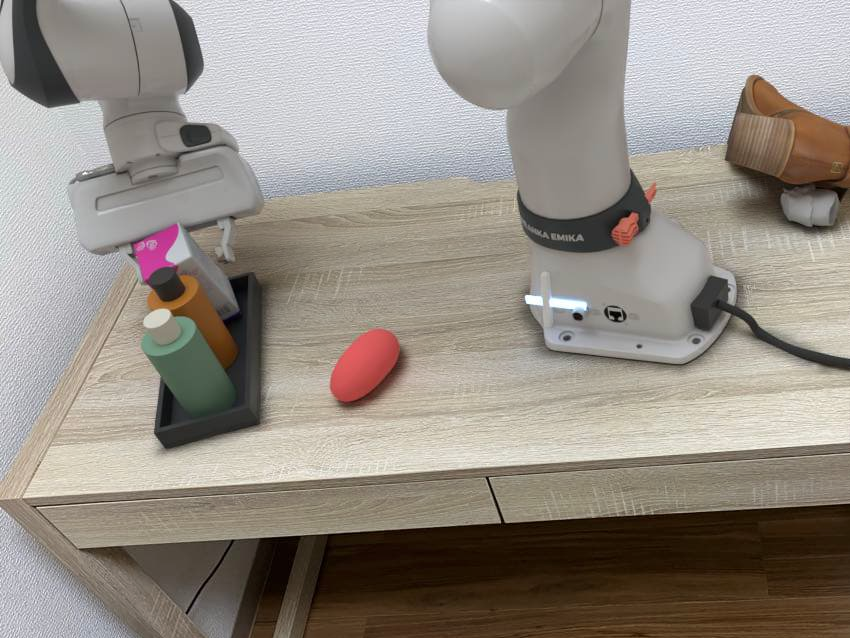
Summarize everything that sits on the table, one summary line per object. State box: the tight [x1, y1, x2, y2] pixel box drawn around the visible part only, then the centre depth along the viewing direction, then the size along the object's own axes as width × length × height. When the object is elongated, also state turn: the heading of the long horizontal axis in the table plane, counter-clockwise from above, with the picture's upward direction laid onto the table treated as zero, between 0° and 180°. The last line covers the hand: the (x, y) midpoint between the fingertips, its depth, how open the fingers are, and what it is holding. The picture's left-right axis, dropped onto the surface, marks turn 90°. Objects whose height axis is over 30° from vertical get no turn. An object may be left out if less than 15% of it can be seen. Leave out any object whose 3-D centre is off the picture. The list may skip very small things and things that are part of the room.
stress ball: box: [329, 328, 401, 403], centre depth 95 cm, size 5×9×6 cm
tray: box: [153, 270, 263, 450], centre depth 102 cm, size 23×10×3 cm, turn 12°
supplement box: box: [134, 222, 242, 323], centre depth 102 cm, size 6×6×12 cm
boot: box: [724, 73, 850, 189], centre depth 105 cm, size 9×24×19 cm
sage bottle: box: [140, 309, 237, 419], centre depth 93 cm, size 6×6×12 cm
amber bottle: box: [146, 267, 238, 370], centre depth 98 cm, size 6×6×12 cm
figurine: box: [780, 183, 841, 228], centre depth 101 cm, size 4×8×5 cm
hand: (188, 273), depth 102 cm, fingers open, 8 cm apart
